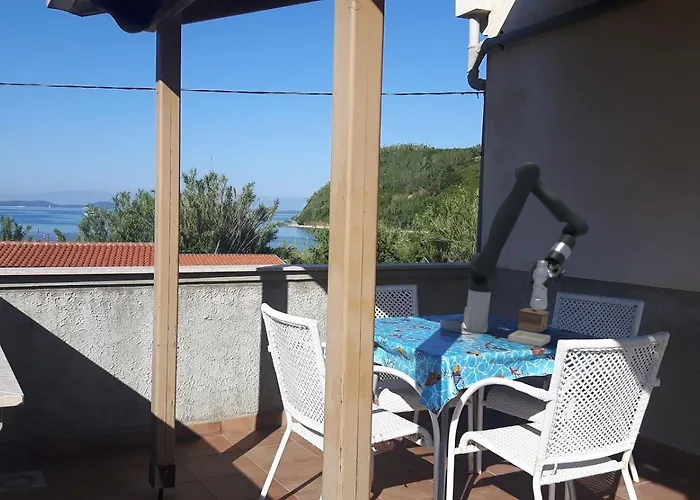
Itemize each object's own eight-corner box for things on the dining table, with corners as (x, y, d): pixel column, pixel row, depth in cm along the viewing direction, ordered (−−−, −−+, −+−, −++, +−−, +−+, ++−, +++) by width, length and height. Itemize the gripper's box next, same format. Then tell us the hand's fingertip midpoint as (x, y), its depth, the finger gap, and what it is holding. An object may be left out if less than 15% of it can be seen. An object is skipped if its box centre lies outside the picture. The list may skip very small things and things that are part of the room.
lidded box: (540, 333, 296) (543, 312, 296) (516, 328, 302) (518, 308, 301) (547, 329, 308) (549, 309, 307) (523, 325, 313) (526, 305, 312)
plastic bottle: (549, 311, 271) (555, 262, 269) (535, 311, 269) (540, 261, 267) (540, 308, 277) (545, 260, 275) (526, 308, 275) (531, 259, 273)
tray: (540, 347, 264) (541, 341, 264) (508, 341, 270) (508, 335, 270) (549, 341, 278) (550, 335, 278) (518, 335, 284) (519, 330, 284)
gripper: (539, 247, 281) (519, 275, 274) (570, 251, 270) (550, 281, 263) (545, 260, 285) (526, 288, 278) (576, 264, 274) (556, 294, 267)
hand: (538, 284), depth 271 cm, fingers closed on plastic bottle, 6 cm apart
